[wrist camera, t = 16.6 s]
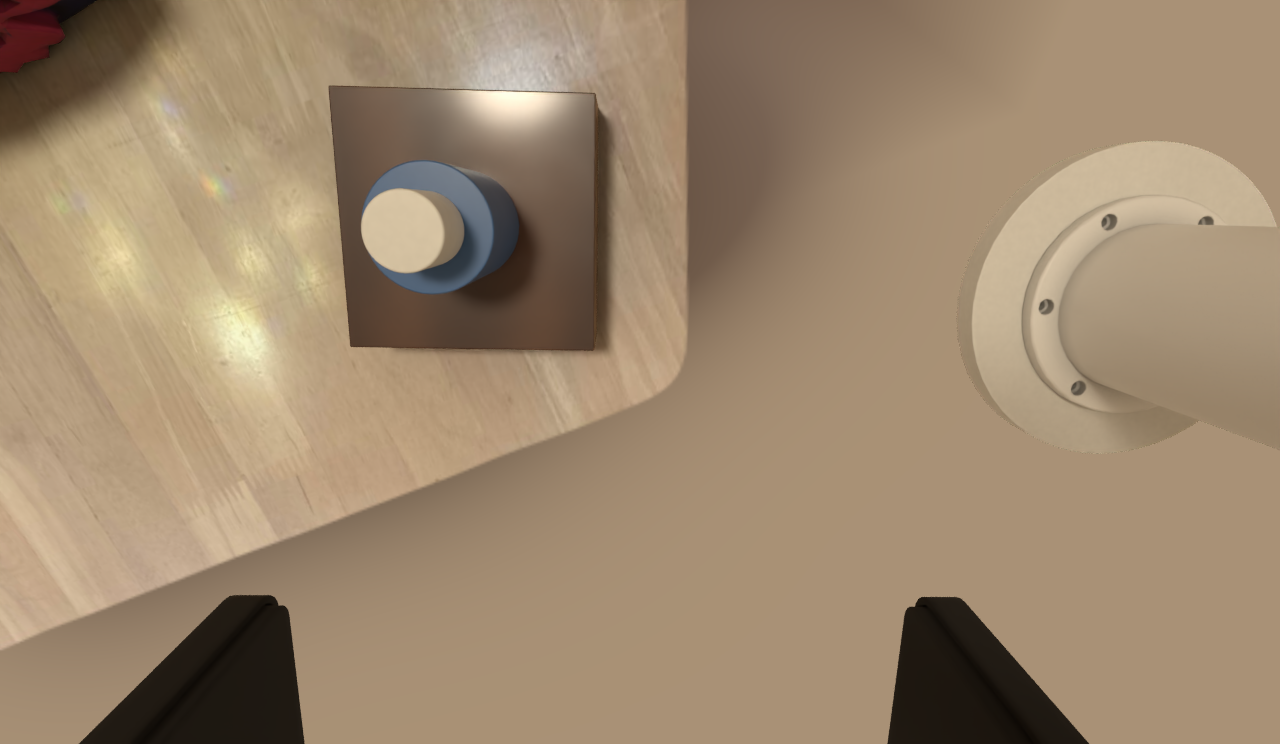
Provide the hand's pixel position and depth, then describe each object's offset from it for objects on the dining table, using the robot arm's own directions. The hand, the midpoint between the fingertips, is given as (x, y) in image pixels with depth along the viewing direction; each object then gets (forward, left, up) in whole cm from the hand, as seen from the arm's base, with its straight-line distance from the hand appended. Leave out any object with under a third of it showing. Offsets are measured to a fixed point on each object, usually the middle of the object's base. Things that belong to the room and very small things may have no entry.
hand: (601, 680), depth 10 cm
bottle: (+7, -6, -24) cm, 26 cm away
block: (+7, -6, -28) cm, 30 cm away
